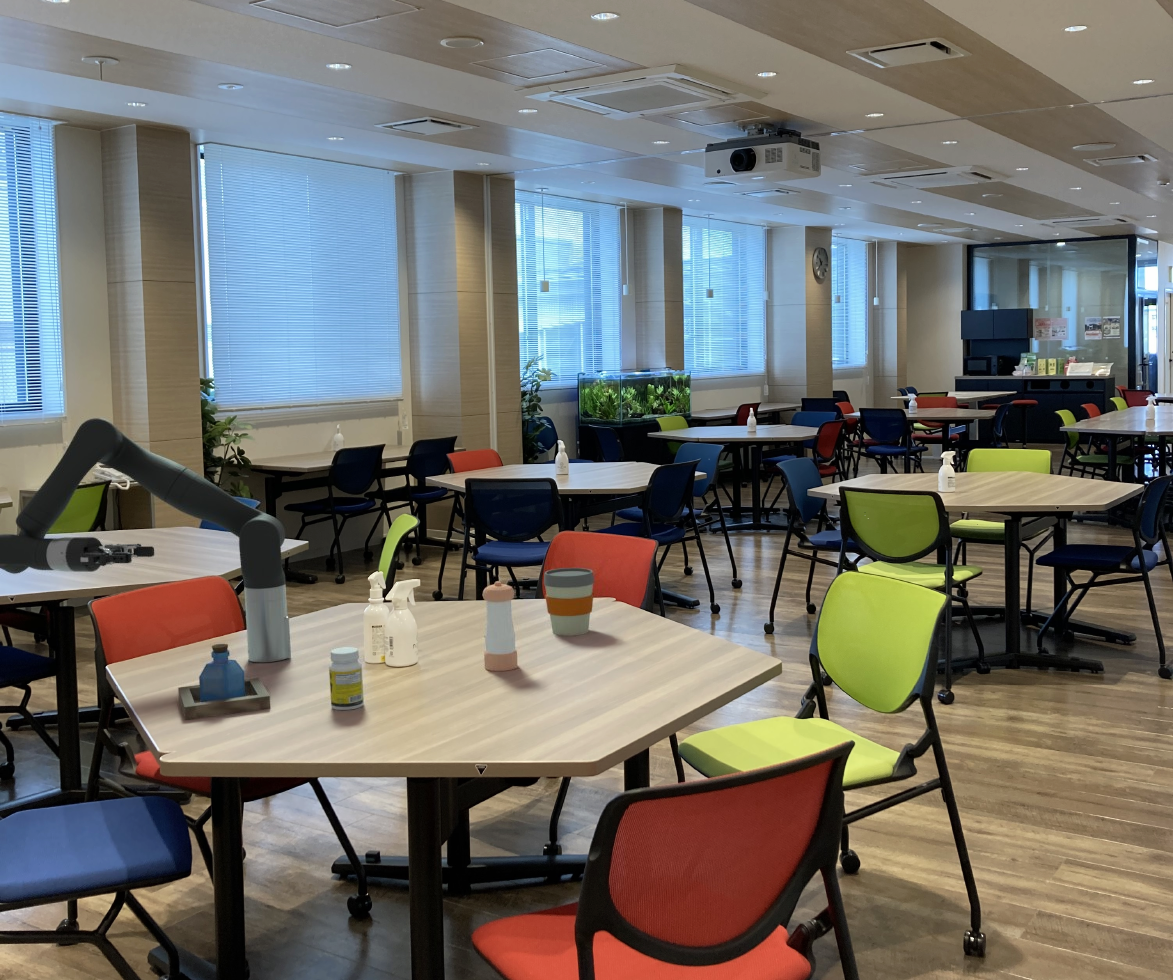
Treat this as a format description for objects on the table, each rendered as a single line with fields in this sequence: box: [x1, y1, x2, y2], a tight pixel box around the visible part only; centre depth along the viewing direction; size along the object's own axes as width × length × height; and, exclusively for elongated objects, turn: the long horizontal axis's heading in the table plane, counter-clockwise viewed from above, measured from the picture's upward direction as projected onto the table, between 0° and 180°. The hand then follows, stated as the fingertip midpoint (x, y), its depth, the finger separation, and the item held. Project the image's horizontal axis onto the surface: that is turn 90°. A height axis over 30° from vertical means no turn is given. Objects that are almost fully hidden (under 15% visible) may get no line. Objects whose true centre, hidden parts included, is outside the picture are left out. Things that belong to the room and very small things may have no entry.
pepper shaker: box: [482, 580, 519, 672], centre depth 259 cm, size 7×7×19 cm
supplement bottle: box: [328, 646, 364, 711], centre depth 232 cm, size 6×6×11 cm
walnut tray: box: [177, 677, 271, 721], centre depth 237 cm, size 16×16×2 cm
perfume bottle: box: [198, 643, 246, 702], centre depth 236 cm, size 6×6×12 cm
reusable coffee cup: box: [543, 567, 595, 636], centre depth 292 cm, size 13×13×15 cm
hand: (142, 554), depth 253 cm, fingers open, 8 cm apart
